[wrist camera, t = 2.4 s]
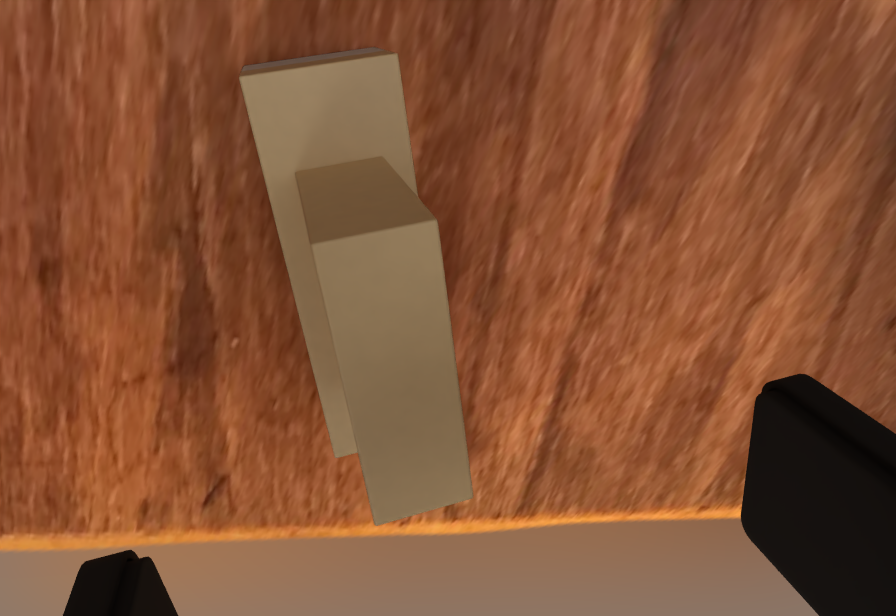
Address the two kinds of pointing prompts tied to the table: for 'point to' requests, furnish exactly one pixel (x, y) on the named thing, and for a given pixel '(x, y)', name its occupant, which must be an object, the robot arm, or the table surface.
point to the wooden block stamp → (364, 271)
